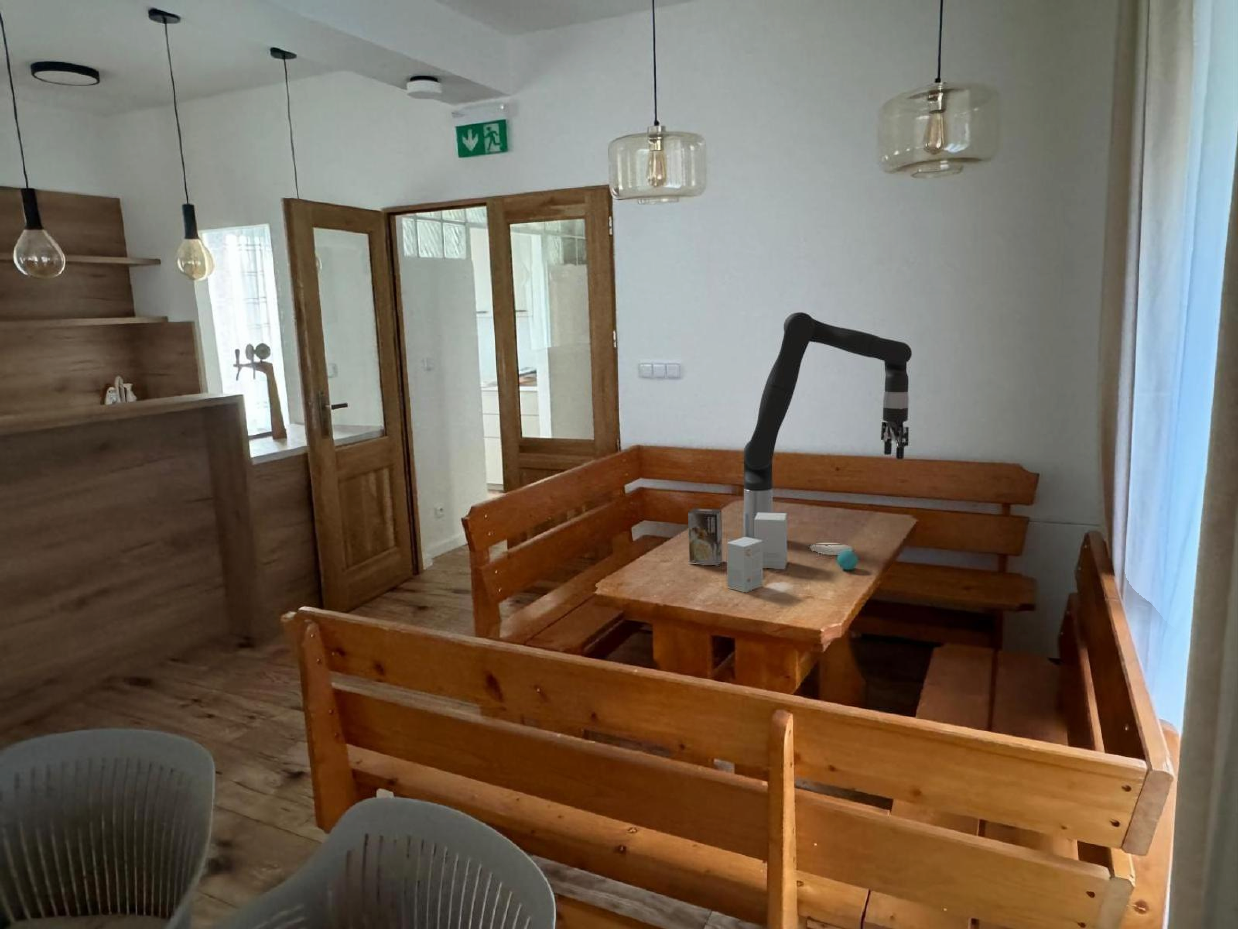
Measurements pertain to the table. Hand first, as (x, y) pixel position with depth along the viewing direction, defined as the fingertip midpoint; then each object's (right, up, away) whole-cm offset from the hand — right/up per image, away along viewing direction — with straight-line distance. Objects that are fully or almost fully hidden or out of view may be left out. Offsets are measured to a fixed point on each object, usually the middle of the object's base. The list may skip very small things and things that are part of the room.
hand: (893, 456), depth 259 cm
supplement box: (-42, -32, -17) cm, 56 cm away
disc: (-21, -29, -3) cm, 36 cm away
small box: (-53, -36, -36) cm, 74 cm away
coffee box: (-61, -32, -13) cm, 70 cm away
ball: (-21, -30, -24) cm, 44 cm away
